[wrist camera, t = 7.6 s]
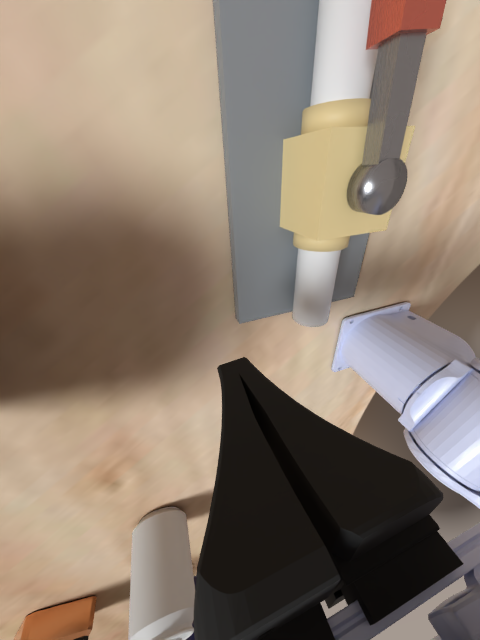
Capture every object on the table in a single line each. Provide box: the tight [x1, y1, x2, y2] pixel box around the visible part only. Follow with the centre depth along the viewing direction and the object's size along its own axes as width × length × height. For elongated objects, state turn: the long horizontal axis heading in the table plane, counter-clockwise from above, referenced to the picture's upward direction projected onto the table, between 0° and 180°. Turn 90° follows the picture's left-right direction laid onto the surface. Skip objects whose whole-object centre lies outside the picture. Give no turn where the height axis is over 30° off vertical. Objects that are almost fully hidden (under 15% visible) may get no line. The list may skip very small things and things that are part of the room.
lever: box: [347, 0, 446, 215], centre depth 10 cm, size 10×2×2 cm, turn 8°
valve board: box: [213, 0, 415, 327], centre depth 15 cm, size 12×20×6 cm, turn 3°
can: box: [128, 507, 195, 640], centre depth 30 cm, size 8×8×12 cm
